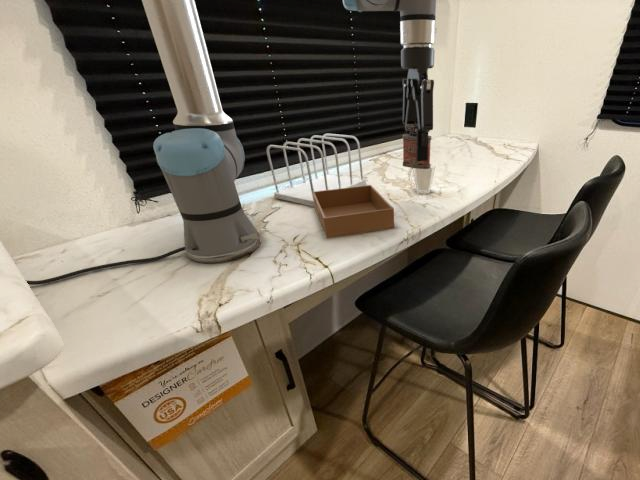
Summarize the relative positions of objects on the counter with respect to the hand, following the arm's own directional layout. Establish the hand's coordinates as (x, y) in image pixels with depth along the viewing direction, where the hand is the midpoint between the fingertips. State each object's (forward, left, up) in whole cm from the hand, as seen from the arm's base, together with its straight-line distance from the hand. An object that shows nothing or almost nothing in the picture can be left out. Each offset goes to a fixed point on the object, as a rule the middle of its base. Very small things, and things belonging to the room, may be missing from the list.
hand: (416, 157), depth 85 cm
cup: (+7, +14, -14) cm, 21 cm away
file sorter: (-23, +25, -14) cm, 37 cm away
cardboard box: (-19, -1, -14) cm, 23 cm away
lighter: (0, 0, -3) cm, 3 cm away
